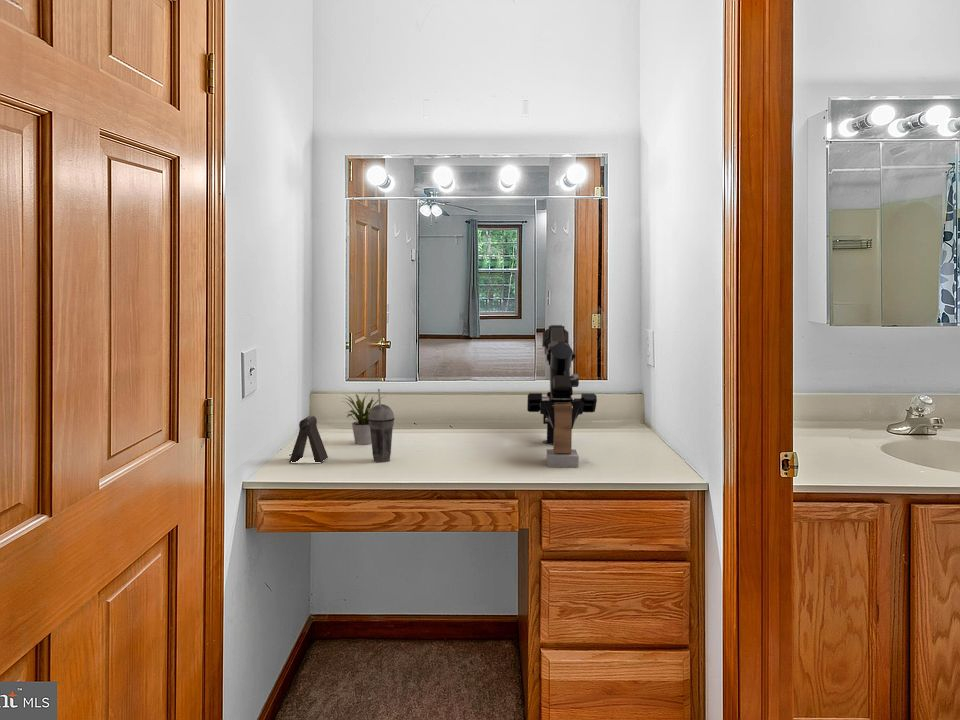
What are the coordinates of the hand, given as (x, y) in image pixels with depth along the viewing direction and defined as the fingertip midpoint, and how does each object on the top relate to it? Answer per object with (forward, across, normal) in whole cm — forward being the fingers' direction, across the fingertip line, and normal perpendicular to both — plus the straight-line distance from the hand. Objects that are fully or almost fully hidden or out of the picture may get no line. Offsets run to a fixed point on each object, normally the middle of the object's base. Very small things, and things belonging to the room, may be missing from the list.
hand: (562, 428), depth 181 cm
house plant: (-10, -60, +24) cm, 66 cm away
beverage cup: (+6, -49, +9) cm, 50 cm away
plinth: (+6, 0, +8) cm, 10 cm away
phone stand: (+6, -69, +8) cm, 70 cm away
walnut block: (+4, 0, +6) cm, 7 cm away
